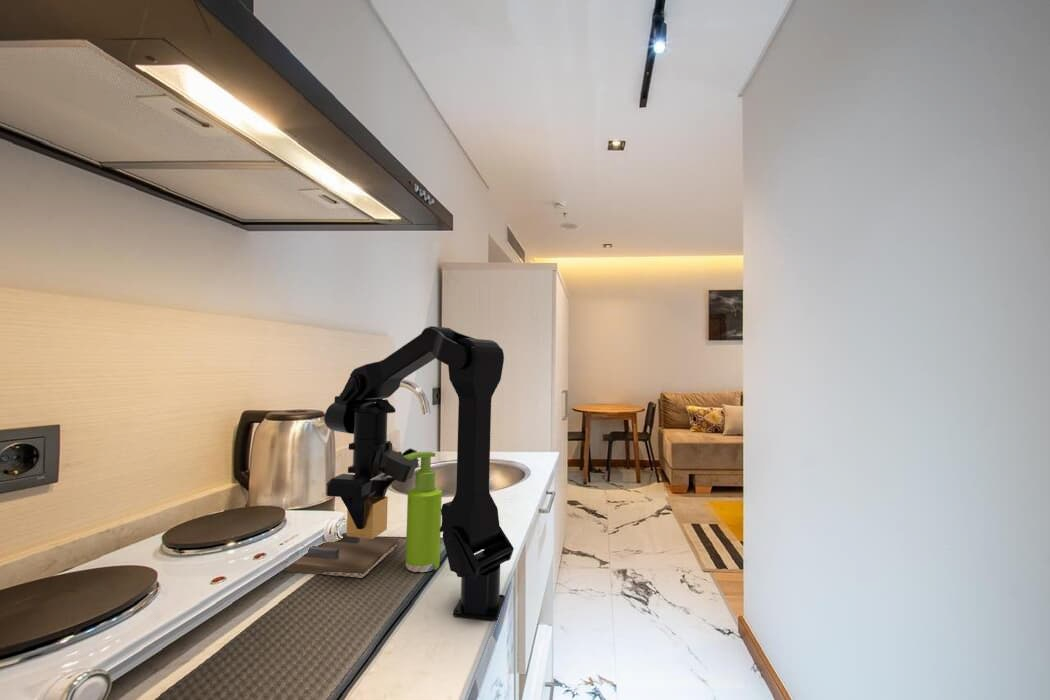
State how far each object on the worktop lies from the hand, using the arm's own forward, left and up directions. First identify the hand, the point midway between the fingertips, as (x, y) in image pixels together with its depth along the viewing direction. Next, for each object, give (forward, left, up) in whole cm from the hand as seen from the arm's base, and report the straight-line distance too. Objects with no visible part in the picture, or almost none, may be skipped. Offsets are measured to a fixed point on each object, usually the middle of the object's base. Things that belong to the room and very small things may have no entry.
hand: (367, 523), depth 86 cm
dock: (0, +4, -7) cm, 8 cm away
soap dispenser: (0, -10, -7) cm, 12 cm away
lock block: (0, 0, -2) cm, 2 cm away
